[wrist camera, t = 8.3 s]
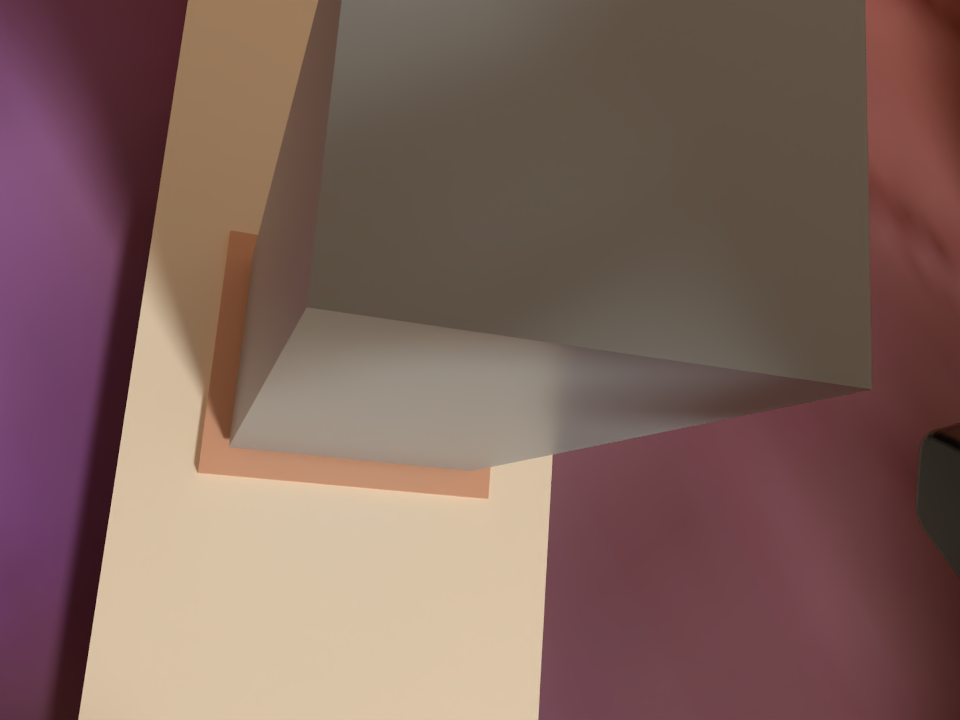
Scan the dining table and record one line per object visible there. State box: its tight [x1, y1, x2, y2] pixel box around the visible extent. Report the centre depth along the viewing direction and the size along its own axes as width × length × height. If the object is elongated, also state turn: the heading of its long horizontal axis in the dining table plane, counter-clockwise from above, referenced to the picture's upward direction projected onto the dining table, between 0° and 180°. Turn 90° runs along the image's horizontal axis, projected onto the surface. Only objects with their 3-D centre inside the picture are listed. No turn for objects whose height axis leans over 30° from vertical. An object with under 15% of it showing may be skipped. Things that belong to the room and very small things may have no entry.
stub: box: [229, 0, 872, 471], centre depth 13 cm, size 4×5×12 cm
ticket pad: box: [78, 0, 552, 720], centre depth 20 cm, size 20×9×1 cm, turn 175°
